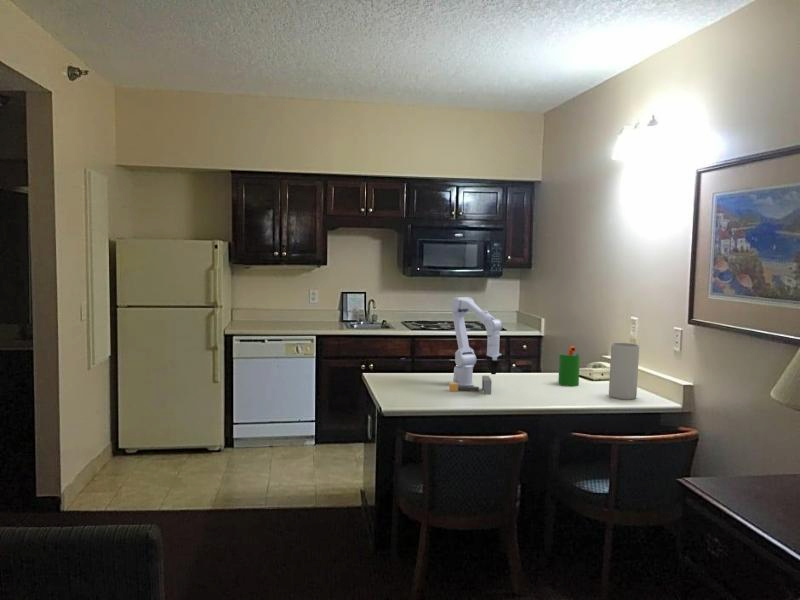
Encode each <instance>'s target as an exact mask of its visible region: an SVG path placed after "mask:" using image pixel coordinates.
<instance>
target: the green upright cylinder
mask: <svg viewBox="0 0 800 600" xmlns="http://www.w3.org/2000/svg"><path fill="white" fill-rule="evenodd" d="M574 352H576V346H569V347H568V354H562V353H558V354H559V356H558V358H559V360H558V378H557V379H558V381H557V382H558V385H560V386H565V387H578V386H579V385H580V361H581V354H579V353H575V354H574Z"/></svg>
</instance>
